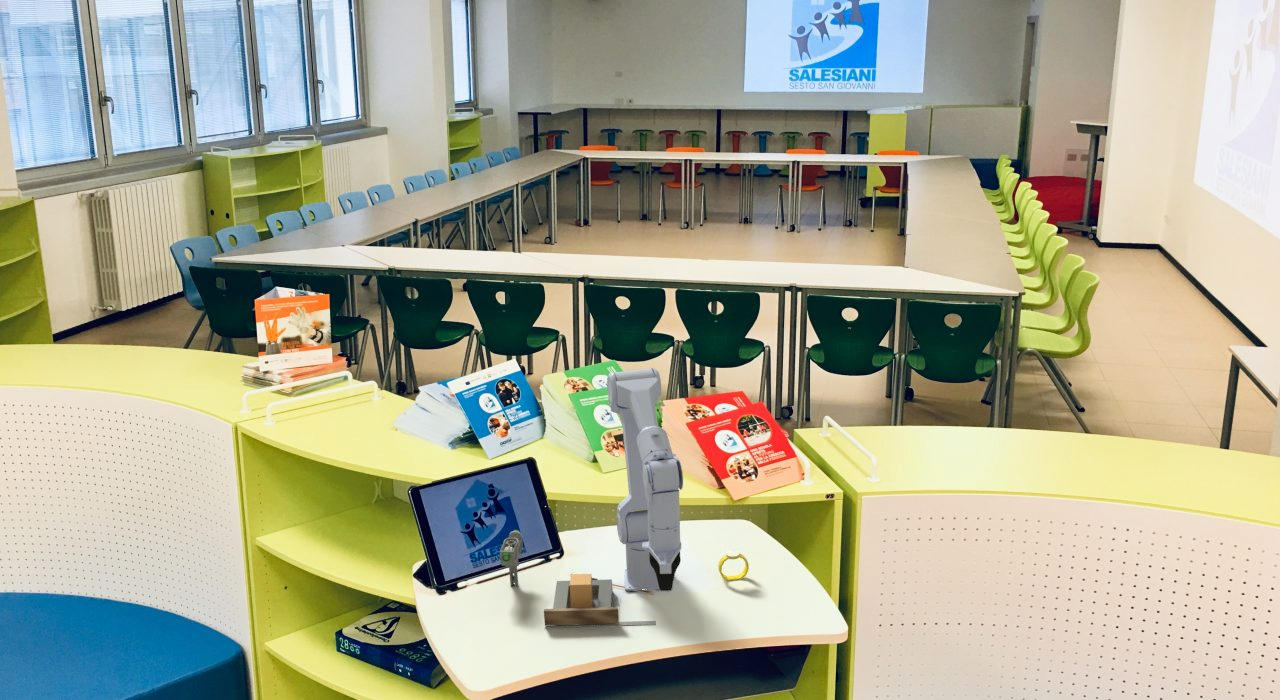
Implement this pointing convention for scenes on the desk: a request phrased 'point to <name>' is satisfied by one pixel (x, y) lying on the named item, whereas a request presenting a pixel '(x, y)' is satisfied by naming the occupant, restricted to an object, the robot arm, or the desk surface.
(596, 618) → the wooden plank
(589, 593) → the jaw block
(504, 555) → the mechanical component
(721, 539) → the desk surface
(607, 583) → the housing
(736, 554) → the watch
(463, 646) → the desk surface
